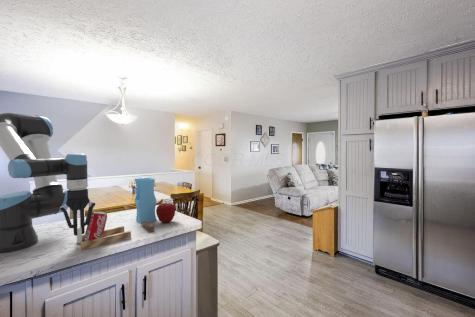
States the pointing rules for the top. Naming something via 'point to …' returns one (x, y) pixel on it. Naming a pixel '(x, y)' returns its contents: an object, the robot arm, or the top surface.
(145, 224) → the block
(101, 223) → the soda can
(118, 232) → the chute
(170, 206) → the apple
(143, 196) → the light blue storage bin
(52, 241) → the top surface
